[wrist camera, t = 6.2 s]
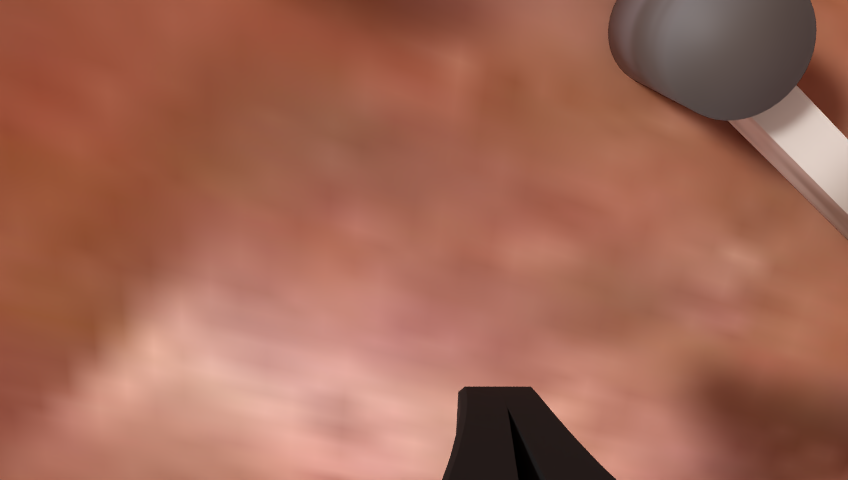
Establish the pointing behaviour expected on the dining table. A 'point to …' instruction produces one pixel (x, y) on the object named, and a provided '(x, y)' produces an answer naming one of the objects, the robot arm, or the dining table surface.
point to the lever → (741, 81)
